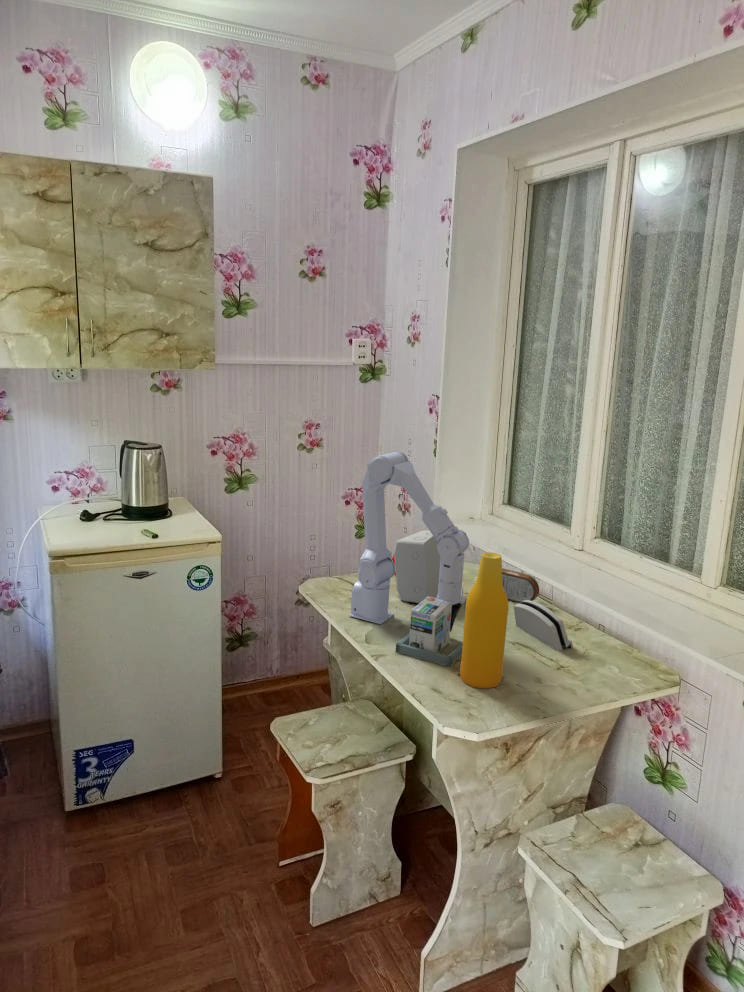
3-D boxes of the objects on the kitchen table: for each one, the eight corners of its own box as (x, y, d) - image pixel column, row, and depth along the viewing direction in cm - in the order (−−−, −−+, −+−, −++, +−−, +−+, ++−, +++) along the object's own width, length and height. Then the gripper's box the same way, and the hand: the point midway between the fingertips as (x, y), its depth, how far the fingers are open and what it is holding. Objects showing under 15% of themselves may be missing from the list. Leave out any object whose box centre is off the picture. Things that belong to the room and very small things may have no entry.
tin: (538, 604, 214) (541, 576, 212) (534, 607, 212) (537, 579, 210) (489, 592, 222) (491, 564, 220) (484, 595, 219) (487, 567, 217)
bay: (395, 651, 180) (395, 644, 180) (421, 629, 193) (421, 622, 193) (450, 666, 174) (450, 658, 174) (473, 643, 187) (473, 635, 187)
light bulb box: (433, 658, 178) (436, 616, 175) (407, 652, 180) (409, 609, 178) (450, 642, 187) (453, 601, 184) (424, 635, 190) (427, 595, 187)
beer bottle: (473, 692, 163) (484, 564, 156) (452, 672, 171) (461, 550, 164) (509, 685, 167) (522, 560, 160) (487, 667, 175) (498, 547, 168)
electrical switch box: (411, 589, 227) (407, 524, 224) (454, 594, 218) (450, 527, 215) (383, 602, 215) (378, 534, 212) (428, 609, 207) (423, 538, 204)
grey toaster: (574, 648, 187) (568, 614, 183) (559, 657, 185) (553, 623, 182) (530, 622, 201) (523, 590, 198) (516, 630, 200) (509, 599, 196)
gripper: (454, 592, 178) (450, 645, 181) (476, 574, 191) (471, 624, 194) (427, 585, 181) (423, 638, 184) (450, 569, 194) (446, 618, 197)
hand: (446, 631), depth 189 cm, fingers closed
